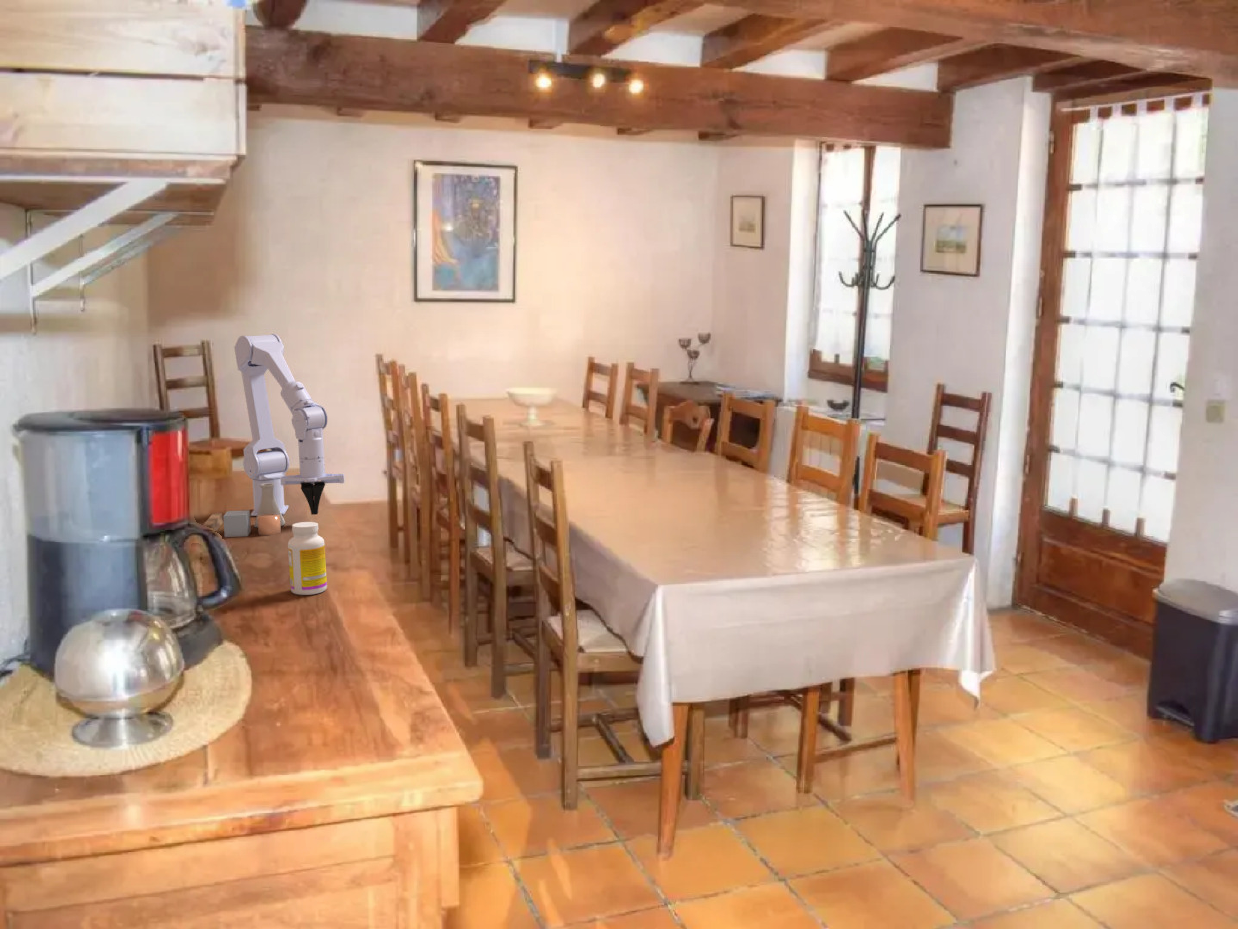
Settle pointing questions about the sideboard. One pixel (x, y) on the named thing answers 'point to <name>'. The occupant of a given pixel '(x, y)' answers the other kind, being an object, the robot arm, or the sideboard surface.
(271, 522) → the peach egg shape
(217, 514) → the walnut rail
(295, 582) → the supplement bottle
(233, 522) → the slate block
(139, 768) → the sideboard surface
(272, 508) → the flask
